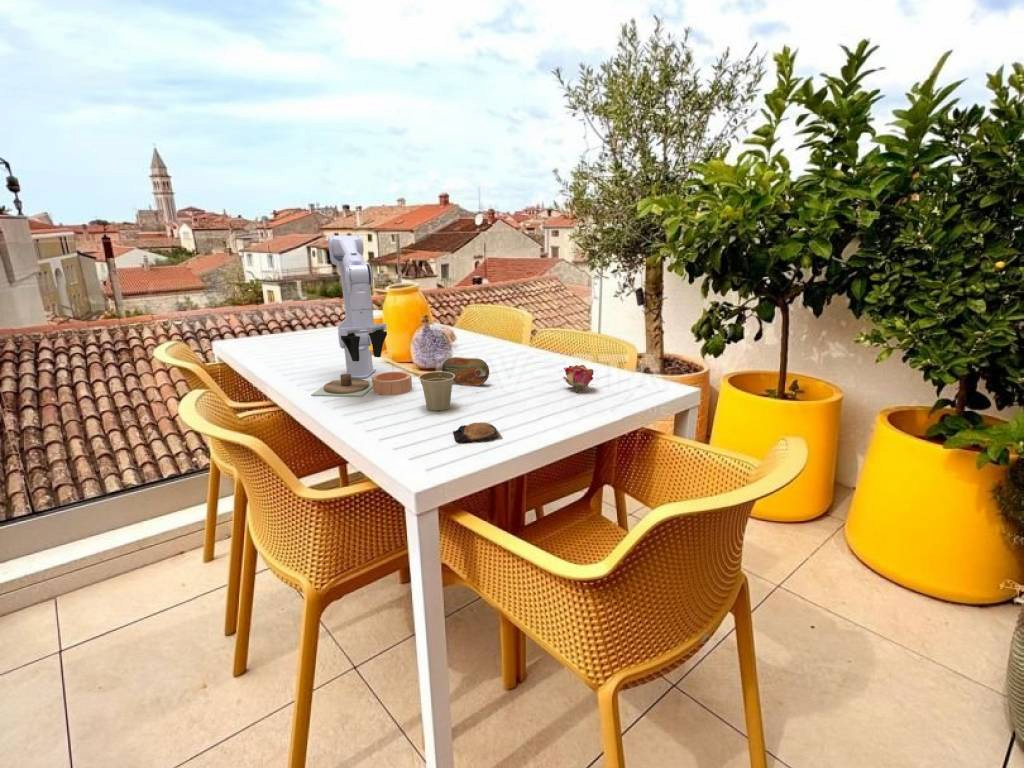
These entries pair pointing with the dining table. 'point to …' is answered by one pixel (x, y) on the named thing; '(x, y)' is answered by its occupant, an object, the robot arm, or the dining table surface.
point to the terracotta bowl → (392, 383)
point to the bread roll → (476, 433)
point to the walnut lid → (346, 385)
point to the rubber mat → (356, 394)
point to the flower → (578, 376)
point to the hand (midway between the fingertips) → (366, 359)
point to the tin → (467, 370)
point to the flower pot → (437, 389)
